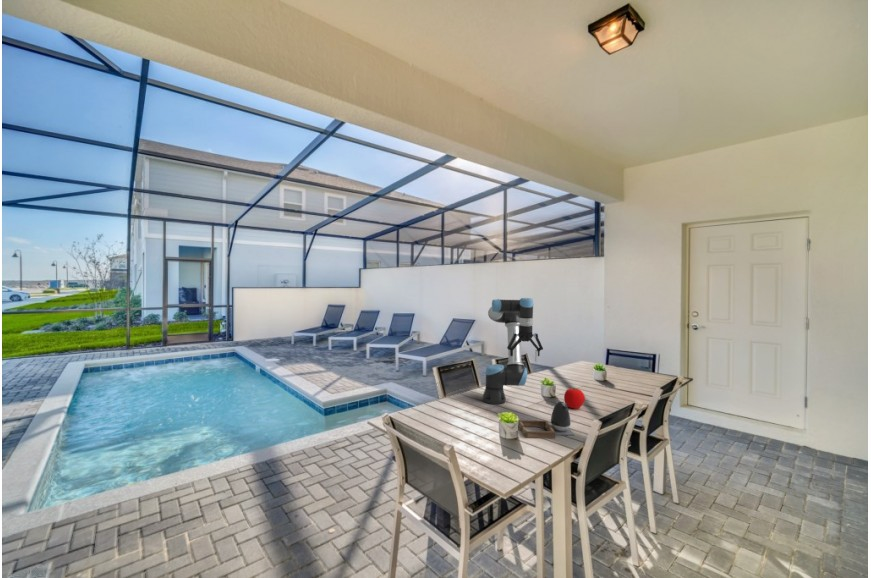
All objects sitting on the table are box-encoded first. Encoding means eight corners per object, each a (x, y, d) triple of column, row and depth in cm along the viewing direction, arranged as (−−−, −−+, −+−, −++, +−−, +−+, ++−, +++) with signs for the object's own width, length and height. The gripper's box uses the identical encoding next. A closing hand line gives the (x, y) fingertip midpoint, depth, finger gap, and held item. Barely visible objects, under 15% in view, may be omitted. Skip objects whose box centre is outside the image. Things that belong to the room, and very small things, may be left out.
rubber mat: (546, 425, 209) (546, 424, 209) (566, 426, 209) (566, 425, 209) (553, 435, 197) (553, 434, 197) (574, 435, 197) (574, 434, 197)
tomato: (563, 409, 235) (564, 389, 234) (563, 403, 246) (564, 384, 245) (585, 412, 231) (585, 391, 230) (584, 405, 242) (584, 386, 241)
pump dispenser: (557, 434, 197) (558, 405, 196) (546, 426, 207) (547, 399, 206) (574, 432, 200) (575, 404, 199) (562, 424, 210) (563, 397, 209)
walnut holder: (518, 425, 209) (518, 420, 209) (546, 425, 209) (546, 420, 209) (525, 437, 193) (525, 432, 193) (555, 438, 193) (555, 432, 193)
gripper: (505, 325, 211) (504, 363, 212) (549, 326, 212) (548, 363, 213) (502, 323, 218) (501, 359, 220) (545, 324, 219) (543, 360, 221)
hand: (524, 361), depth 217 cm, fingers open, 13 cm apart
